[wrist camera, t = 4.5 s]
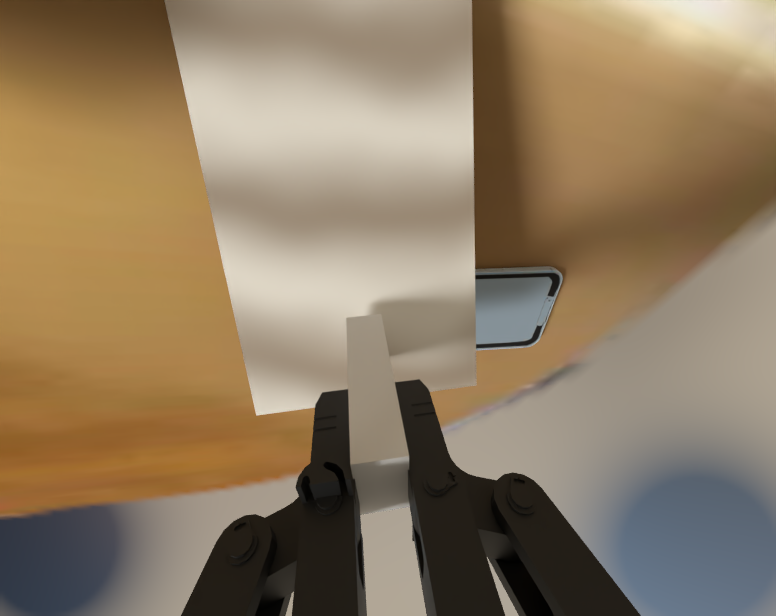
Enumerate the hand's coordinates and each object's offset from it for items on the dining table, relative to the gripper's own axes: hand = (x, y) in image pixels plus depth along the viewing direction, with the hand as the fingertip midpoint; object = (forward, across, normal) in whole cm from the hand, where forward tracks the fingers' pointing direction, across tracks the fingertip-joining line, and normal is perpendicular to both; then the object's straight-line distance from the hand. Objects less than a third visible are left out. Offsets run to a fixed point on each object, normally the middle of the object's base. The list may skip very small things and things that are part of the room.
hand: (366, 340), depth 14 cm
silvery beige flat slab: (+4, 0, +5) cm, 7 cm away
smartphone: (+9, +7, -5) cm, 12 cm away
